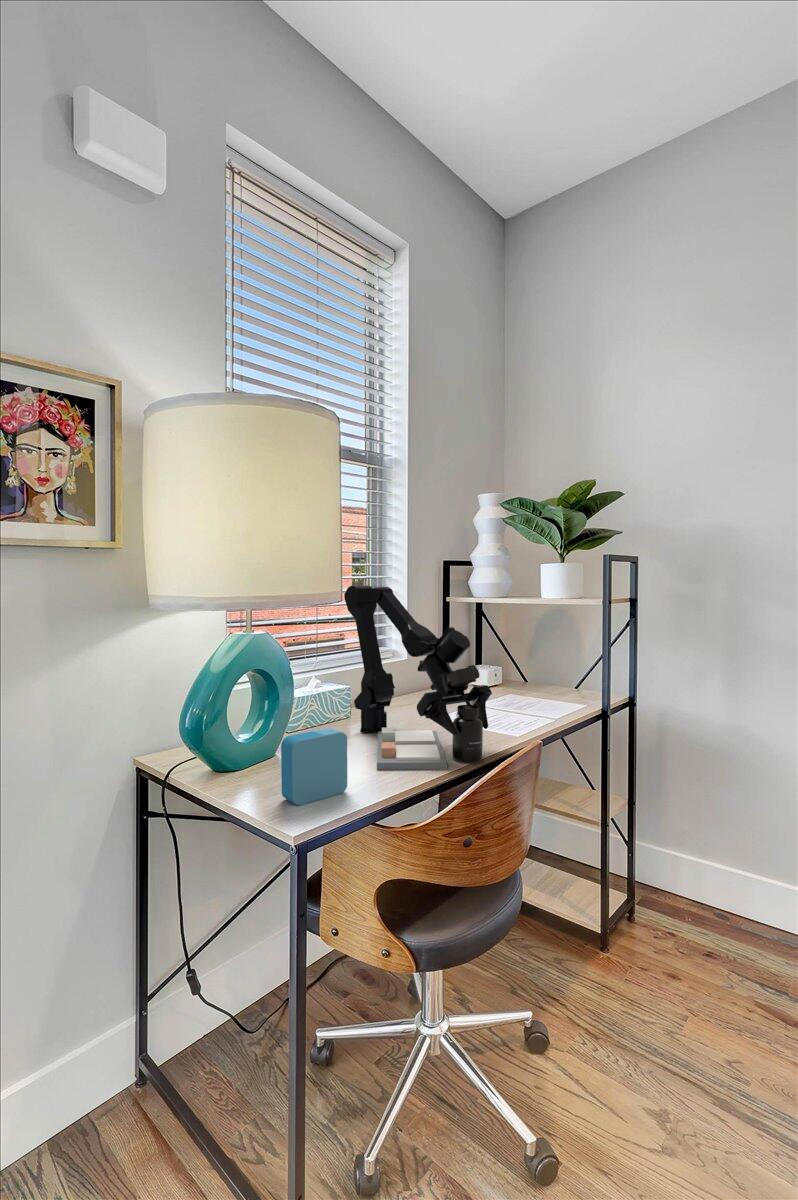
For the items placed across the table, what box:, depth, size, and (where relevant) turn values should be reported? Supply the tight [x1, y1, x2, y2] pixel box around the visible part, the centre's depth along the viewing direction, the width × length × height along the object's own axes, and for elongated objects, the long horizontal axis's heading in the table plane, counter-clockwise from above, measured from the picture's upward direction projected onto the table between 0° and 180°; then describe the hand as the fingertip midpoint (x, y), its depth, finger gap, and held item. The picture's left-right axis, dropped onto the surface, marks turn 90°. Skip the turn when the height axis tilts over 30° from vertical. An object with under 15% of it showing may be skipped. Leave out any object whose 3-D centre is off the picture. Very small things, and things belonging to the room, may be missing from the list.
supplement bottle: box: [451, 704, 484, 764], centre depth 137 cm, size 7×7×12 cm
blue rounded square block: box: [280, 727, 348, 806], centre depth 114 cm, size 12×4×12 cm, turn 130°
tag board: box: [376, 727, 448, 771], centre depth 143 cm, size 15×26×4 cm, turn 1°
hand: (471, 730), depth 136 cm, fingers open, 9 cm apart
